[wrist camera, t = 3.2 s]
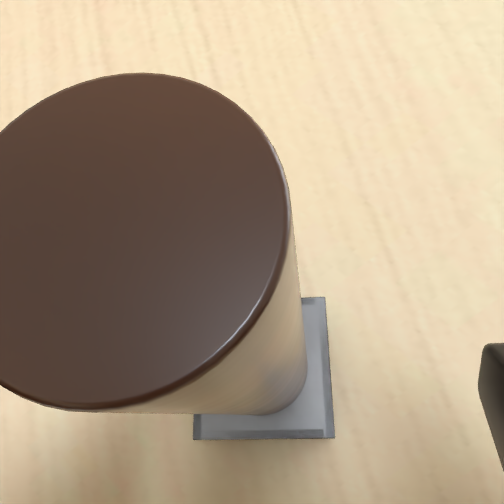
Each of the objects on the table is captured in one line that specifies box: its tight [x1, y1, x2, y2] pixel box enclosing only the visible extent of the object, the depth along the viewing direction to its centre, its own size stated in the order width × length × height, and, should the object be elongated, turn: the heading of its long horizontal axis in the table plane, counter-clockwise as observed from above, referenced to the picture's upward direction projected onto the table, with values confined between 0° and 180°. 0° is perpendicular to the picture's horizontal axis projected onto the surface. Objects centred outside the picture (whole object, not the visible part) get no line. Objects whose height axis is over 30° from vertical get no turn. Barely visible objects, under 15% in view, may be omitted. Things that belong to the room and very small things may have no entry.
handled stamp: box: [0, 73, 335, 440], centre depth 10 cm, size 4×4×14 cm
